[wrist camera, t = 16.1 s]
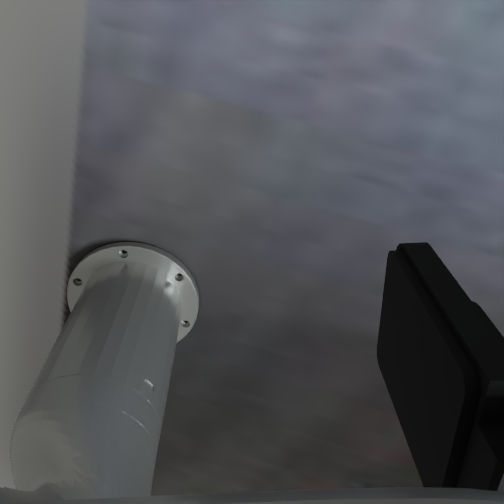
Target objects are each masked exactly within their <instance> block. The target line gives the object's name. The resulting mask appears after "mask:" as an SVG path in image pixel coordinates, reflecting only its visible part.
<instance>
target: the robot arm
mask: <svg viewBox="0 0 504 504" xmlns="http://www.w3.org/2000/svg"><path fill="white" fill-rule="evenodd" d="M123 250H125V251H123ZM178 273H180V274H178ZM67 302H68V306H69V309H70V312H71V314H70V316H69V317H68V319H67V321H66V323H65V325H64V327H63V329H62V331H61V333H60V335H59V337H58V338H57V340H56V342H55V344H54V346H53V348H52V350H51V352H50V354H49V356H48V358H47V359H46V361H45V363H44V365H43V367H42V369H41V371H40V373H39V375H38V377H37V379H36V380H35V382H34V384H33V386H32V388H31V390H30V392H29V394H28V396H27V398H26V400H25V402H24V404H23V406H22V408H21V410H20V411H19V413H18V415H17V418H16V420H15V423H14V427H13V430H12V435H11V441H10V461H11V468H12V474H13V479H14V482H15V486H16V489H11V488H6V487H4V488H0V504H504V337H503V336H502V335H501V333H500V332H499V331H498V329H497V328H496V327H495V326H494V324H493V323H492V322H491V320H490V319H489V318H488V316H487V315H486V314H485V312H484V311H483V310H482V308H481V307H480V306H479V305H478V304H477V303H476V302H473V301H471V300H470V299H469V297H468V296H467V294H466V293H465V292H464V290H463V289H462V288H461V286H460V285H459V284H458V282H457V281H456V280H455V278H454V277H453V276H452V274H451V273H450V272H449V270H448V269H447V268H446V266H445V265H444V264H443V262H442V261H441V259H440V258H439V257H438V255H437V254H436V253H435V251H434V250H433V249H432V247H431V246H430V245H429V244H428V243H425V242H424V243H403V244H399V245H398V246H397V249H396V251H390V252H389V254H388V258H387V266H386V275H385V283H384V292H383V301H382V309H381V318H380V327H379V335H378V344H377V359H378V364H379V367H380V370H381V373H382V375H383V378H384V381H385V383H386V386H387V389H388V392H389V394H390V397H391V400H392V402H393V405H394V408H395V410H396V413H397V416H398V419H399V421H400V424H401V427H402V429H403V432H404V435H405V438H406V440H407V443H408V446H409V448H410V451H411V454H412V456H413V459H414V462H415V465H416V467H417V470H418V473H419V475H420V478H421V481H422V483H423V486H424V487H397V488H356V489H315V490H289V491H265V492H240V493H216V494H192V495H167V496H151V488H152V480H153V473H154V467H155V460H156V454H157V449H158V443H159V437H160V432H161V426H162V421H163V415H164V410H165V404H166V399H167V393H168V387H169V382H170V376H171V371H172V365H173V359H174V354H175V348H176V343H177V342H179V341H180V340H181V339H182V338H184V337H185V336H186V335H187V334H188V332H189V331H190V330H191V329H192V327H193V325H194V323H195V321H196V318H197V314H198V309H199V294H198V289H197V286H196V283H195V280H194V279H193V277H192V275H191V274H190V272H189V270H188V269H187V268H186V267H185V266H184V265H183V264H182V263H181V262H180V261H179V260H178V259H176V258H175V257H174V256H172V255H171V254H169V253H167V252H165V251H164V250H162V249H160V248H157V247H154V246H151V245H148V244H143V243H137V242H118V243H112V244H107V245H105V246H102V247H99V248H97V249H95V250H94V251H92V252H90V253H89V254H87V255H86V256H85V257H84V258H83V259H82V260H81V261H80V262H79V263H78V265H77V266H76V268H75V269H74V271H73V272H72V274H71V276H70V278H69V281H68V287H67Z"/></svg>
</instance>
